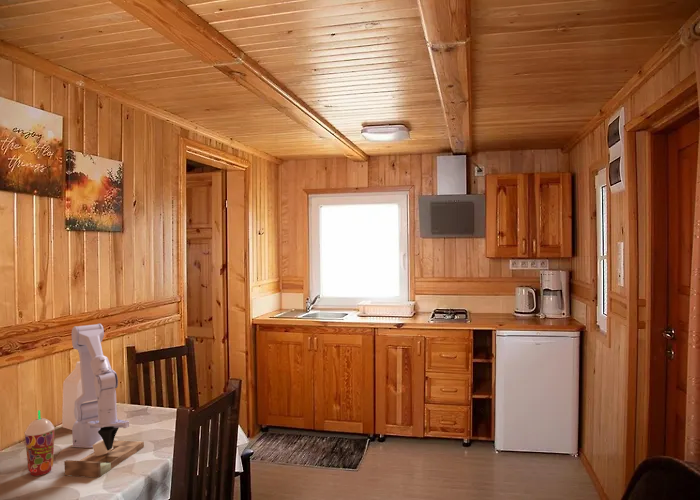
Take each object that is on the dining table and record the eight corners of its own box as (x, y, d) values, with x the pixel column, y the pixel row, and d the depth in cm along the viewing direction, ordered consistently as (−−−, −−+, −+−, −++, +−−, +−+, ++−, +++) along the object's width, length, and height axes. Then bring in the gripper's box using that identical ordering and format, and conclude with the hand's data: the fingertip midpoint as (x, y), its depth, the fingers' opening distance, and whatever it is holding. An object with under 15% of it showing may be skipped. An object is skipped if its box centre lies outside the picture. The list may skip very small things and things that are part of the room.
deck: (64, 475, 160) (64, 461, 160) (114, 446, 184) (113, 433, 184) (98, 477, 158) (98, 463, 158) (143, 447, 182) (143, 434, 182)
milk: (105, 423, 211) (103, 360, 211) (78, 431, 201) (76, 366, 201) (89, 418, 217) (87, 358, 217) (62, 427, 208) (60, 363, 208)
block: (96, 456, 170) (92, 445, 170) (103, 451, 174) (99, 440, 174) (106, 453, 169) (102, 442, 169) (113, 448, 173) (109, 437, 173)
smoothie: (33, 480, 158) (32, 416, 158) (20, 474, 162) (18, 412, 162) (61, 469, 165) (59, 408, 165) (47, 464, 169) (45, 405, 169)
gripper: (80, 412, 169) (82, 453, 169) (119, 411, 167) (121, 453, 166) (94, 406, 176) (96, 445, 176) (132, 405, 174) (134, 445, 173)
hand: (109, 449), depth 171 cm, fingers closed, pressing on block
